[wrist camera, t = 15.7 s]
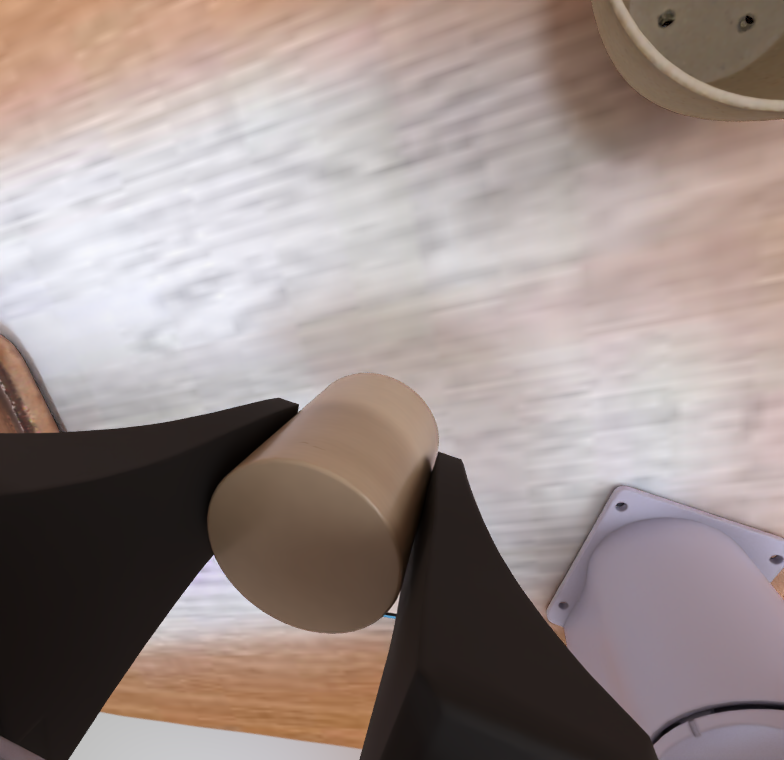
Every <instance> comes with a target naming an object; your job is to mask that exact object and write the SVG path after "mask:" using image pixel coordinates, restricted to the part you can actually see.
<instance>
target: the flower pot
mask: <svg viewBox="0 0 784 760" xmlns="http://www.w3.org/2000/svg"><path fill="white" fill-rule="evenodd" d="M591 2H592V7H593V13H594V17H595V20H596V24H597V27H598V31H599V33H600V36H601V39H602V41H603V44H604V46H605V49H606V51H607V53H608V55H609V57H610V59H611V61H612V62H613V64H614V65H615V67H616V69H617V70H618V72H619V73H620V74H621V76H622V77H623V78H624V79H625V80H626V82H627V83H628V84H629V85H630V86H631V87H632V88H633V89H635V90H636V91H637V92H638V93H639V94H640V95H642V96H643V97H645V98H646V99H648V100H649V101H651V102H653V103H655V104H656V105H658V106H660V107H663V108H665V109H668V110H670V111H673V112H676V113H679V114H682V115H686V116H691V117H696V118H701V119H708V120H717V121H766V120H777V119H784V0H591ZM746 16H749V17H751V18H753V21H754V22H753V23H752V24H748V23H746V21H745V18H746ZM667 21H670V22H672V23H671V24H670V25H668V26H666V27H662V25H663V24H664V23H665V22H667Z"/></svg>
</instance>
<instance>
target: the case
mask: <svg viewBox="0 0 784 760" xmlns="http://www.w3.org/2000/svg"><path fill="white" fill-rule="evenodd" d="M59 432H60V431H59V429H58V427H57V425H56V423H55V421H54V419H53V417H52V415H51V413H50V411H49V409H48V407H47V405H46V403H45V400H44V398H43V397H42V394H41V392H40V390H39V389H38V387H37V385H36V383H35V381H34V379H33V377H32V375H31V372H30V370H29V368H28V366H27V365H26V363H25V361H24V359H23V358H22V356H21V354H20V353H19V351H18V350H17V349H16V348H15V346H14V345H13V344H12V343H11V342H10V341H9V340H8V339H6V338H5V337H3V336H2V335H0V433H59Z"/></svg>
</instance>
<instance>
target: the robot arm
mask: <svg viewBox="0 0 784 760" xmlns="http://www.w3.org/2000/svg"><path fill="white" fill-rule="evenodd" d="M298 407H299V404H296V403H293V402H290V401H287V400H284V399H281V398H274V399H268V400H264V401H259V402H255V403H251V404H247V405H243V406H239V407H234V408H230V409H226V410H222V411H218V412H214V413H209V414H204V415H199V416H195V417H190V418H185V419H180V420H175V421H170V422H164V423H158V424H151V425H143V426H136V427H128V428H118V429H106V430H91V431H76V432H59V433H0V760H68V759H69V757H70V756H71V755H72V753H73V752H74V750H75V749H76V747H77V746H78V744H79V743H80V741H81V739H82V738H83V736H84V735H85V733H86V731H87V730H88V729H89V727H90V726H91V724H92V723H93V721H94V720H95V718H96V717H97V715H98V713H99V712H100V710H101V709H102V707H103V706H104V704H105V703H106V701H107V700H108V698H109V697H110V695H111V694H112V692H113V691H114V690H115V688H116V687H117V685H118V684H119V682H120V681H121V679H122V678H123V676H124V675H125V674H126V672H127V671H128V669H129V668H130V666H131V665H132V663H133V662H134V661H135V659H136V658H137V656H138V655H139V653H140V652H141V650H142V649H143V647H144V646H145V645H146V643H147V642H148V640H149V639H150V638H151V636H152V635H153V634H154V632H155V631H156V629H157V628H158V627H159V625H160V624H161V622H162V621H163V620H164V618H165V617H166V616H167V614H168V613H169V611H170V610H171V609H172V607H173V606H174V605H175V603H176V602H177V601H178V599H179V598H180V597H181V595H182V594H183V593H184V591H185V590H186V589H187V587H188V586H189V585H190V583H191V582H192V581H193V579H194V578H195V577H196V575H197V574H198V573H199V572H200V570H201V569H202V568H203V567H204V566H205V564H206V563H207V562H208V561H209V560H210V558H211V557H212V556H213V555H214V553H213V551H212V548H211V545H210V541H209V538H208V531H207V513H208V507H209V504H210V501H211V498H212V495H213V493H214V491H215V489H216V487H217V485H218V484H219V483H220V482H221V480H222V479H223V478H224V477H225V476H226V475H227V474H228V473H230V472H231V471H232V470H233V469H234V468H235V467H236V466H238V465H239V464H240V463H241V462H242V461H243V460H244V459H246V458H247V457H248V456H249V455H250V454H251V453H252V452H254V451H255V450H256V449H257V448H258V447H259V446H261V445H262V444H263V443H264V442H265V441H266V440H267V439H269V438H270V437H271V436H272V435H273V434H274V433H275V432H277V431H278V430H279V429H280V428H281V427H282V426H283V425H285V424H286V423H287V422H288V421H289V420H290V419H291V418H293V417H294V416H295V415H296V414H297V413H298ZM620 502H622V503H625V504H624V505H623V506H620V507H618V506H616V504H617V503H620ZM774 555H777V556H776V557H774V558H770V557H772V556H774ZM783 567H784V538H782V537H779V536H776V535H773V534H770V533H767V532H764V531H761V530H758V529H755V528H752V527H749V526H746V525H743V524H740V523H737V522H734V521H731V520H728V519H725V518H722V517H719V516H716V515H713V514H710V513H707V512H704V511H701V510H698V509H695V508H692V507H689V506H686V505H683V504H680V503H677V502H674V501H671V500H668V499H665V498H662V497H659V496H656V495H653V494H650V493H647V492H644V491H641V490H638V489H635V488H632V487H629V486H620V487H618V488H616V489H615V490H614V491H613V493H612V495H611V496H610V498H609V500H608V502H607V503H606V505H605V507H604V509H603V510H602V512H601V514H600V516H599V518H598V519H597V521H596V523H595V525H594V526H593V528H592V530H591V532H590V534H589V535H588V537H587V539H586V541H585V542H584V544H583V546H582V548H581V549H580V551H579V553H578V555H577V557H576V558H575V560H574V562H573V564H572V565H571V567H570V569H569V571H568V573H567V574H566V576H565V578H564V580H563V581H562V583H561V585H560V587H559V588H558V590H557V592H556V594H555V596H554V597H553V599H552V601H551V603H550V604H549V606H548V608H547V610H546V614H547V618H548V620H549V621H550V622H552V623H554V624H556V625H559V626H562V627H564V632H565V637H566V643H567V647H566V646H565V644H564V643H563V642H562V641H561V640H560V639H559V637H558V636H557V635H556V634H555V632H554V631H553V630H552V629H551V627H550V626H549V625H548V624H547V622H546V621H545V620H544V618H543V617H542V616H541V614H540V613H539V612H538V610H537V609H536V608H535V606H534V605H533V603H532V602H531V601H530V599H529V598H528V597H527V595H526V594H525V592H524V591H523V590H522V588H521V587H520V585H519V584H518V582H517V581H516V579H515V578H514V576H513V575H512V573H511V571H510V570H509V568H508V566H507V565H506V563H505V561H504V560H503V558H502V557H501V555H500V553H499V551H498V549H497V547H496V546H495V544H494V542H493V540H492V538H491V536H490V534H489V531H488V529H487V527H486V525H485V523H484V521H483V518H482V516H481V514H480V511H479V509H478V506H477V504H476V501H475V499H474V496H473V494H472V491H471V488H470V485H469V482H468V479H467V475H466V472H465V468H464V464H463V462H462V460H461V459H458V458H455V457H452V456H449V455H446V454H444V453H441V452H438V454H437V457H436V461H435V464H434V467H433V470H432V473H431V477H430V480H429V484H428V488H427V491H426V495H425V500H424V505H423V509H422V513H421V517H420V521H419V524H418V528H417V532H416V536H415V539H414V543H413V547H412V551H411V554H410V558H409V562H408V566H407V569H406V573H405V577H404V581H403V584H402V588H401V591H400V597H399V602H398V608H397V614H396V619H395V625H394V630H393V635H392V640H391V644H390V649H389V653H388V656H387V660H386V664H385V668H384V671H383V675H382V679H381V682H380V686H379V690H378V694H377V697H376V701H375V705H374V708H373V712H372V716H371V719H370V723H369V727H368V730H367V734H366V738H365V741H364V745H363V749H362V752H361V756H360V760H784V600H783V598H782V597H781V596H780V595H779V593H778V592H777V591H776V590H775V589H774V587H773V586H772V585H771V584H770V583H771V582H772V580H773V579H774V578H775V577H776V576H777V575H778V573H779V572H780V571H781V570H782V569H783ZM560 602H566V603H560Z"/></svg>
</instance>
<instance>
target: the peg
mask: <svg viewBox="0 0 784 760" xmlns="http://www.w3.org/2000/svg"><path fill="white" fill-rule="evenodd" d="M438 446H439V436H438V429H437V425H436V422H435V419H434V417H433V415H432V413H431V411H430V409H429V408H428V406H427V405H426V403H425V402H424V401H423V399H422V398H421V397H420V396H419V395H418V394H417V393H416V392H415V391H413V390H412V389H411V388H410V387H408V386H407V385H405V384H404V383H402V382H400V381H398V380H396V379H394V378H391V377H388V376H385V375H381V374H375V373H358V374H352V375H348V376H345V377H343V378H340V379H338V380H336V381H335V382H333V383H332V384H330V385H329V386H328V387H327V388H326V389H325V390H324V391H322V392H321V393H320V394H319V395H318V396H317V397H316V398H314V399H313V400H312V401H311V402H310V403H309V404H307V405H306V406H305V407H304V408H303V409H302V410H301V411H299V412H298V413H297V414H296V415H295V416H294V417H293V418H291V419H290V420H289V421H288V422H287V423H286V424H285V425H283V426H282V427H281V428H280V429H279V430H278V431H277V432H275V433H274V434H273V435H272V436H271V437H270V438H269V439H267V440H266V441H265V442H264V443H263V444H262V445H261V446H259V447H258V448H257V449H256V450H255V451H254V452H252V453H251V454H250V455H249V456H248V457H247V458H246V459H244V460H243V461H242V462H241V463H240V464H239V465H238V466H236V467H235V468H234V469H233V470H232V471H231V472H230V473H228V474H227V475H226V476H225V477H224V478H223V479H222V480H221V482H220V483H219V484H218V485H217V487H216V489H215V491H214V493H213V495H212V498H211V501H210V504H209V507H208V513H207V531H208V538H209V541H210V545H211V548H212V551H213V553H214V556H215V558H216V560H217V562H218V564H219V566H220V568H221V569H222V571H223V572H224V574H225V575H226V577H227V578H228V579H229V581H230V582H231V583H232V584H233V586H234V587H235V588H236V589H237V590H238V591H239V592H240V593H241V594H242V595H243V596H244V597H245V598H246V599H247V600H249V601H250V602H251V603H252V604H253V605H255V606H256V607H258V608H259V609H260V610H262V611H263V612H265V613H266V614H268V615H270V616H272V617H273V618H275V619H277V620H279V621H281V622H283V623H286V624H288V625H291V626H294V627H296V628H300V629H303V630H307V631H312V632H318V633H330V634H335V633H347V632H352V631H356V630H359V629H362V628H365V627H367V626H369V625H371V624H373V623H375V622H376V621H378V620H379V619H380V618H382V617H383V616H384V615H385V614H386V613H387V612H388V611H389V610H390V609H391V607H392V606H393V604H394V603H395V602H396V600H397V598H398V596H399V593H400V591H401V588H402V584H403V581H404V577H405V573H406V569H407V566H408V562H409V558H410V554H411V551H412V547H413V543H414V539H415V536H416V532H417V528H418V524H419V521H420V517H421V513H422V509H423V505H424V500H425V495H426V491H427V488H428V484H429V480H430V477H431V473H432V470H433V467H434V464H435V461H436V457H437V453H438Z"/></svg>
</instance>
